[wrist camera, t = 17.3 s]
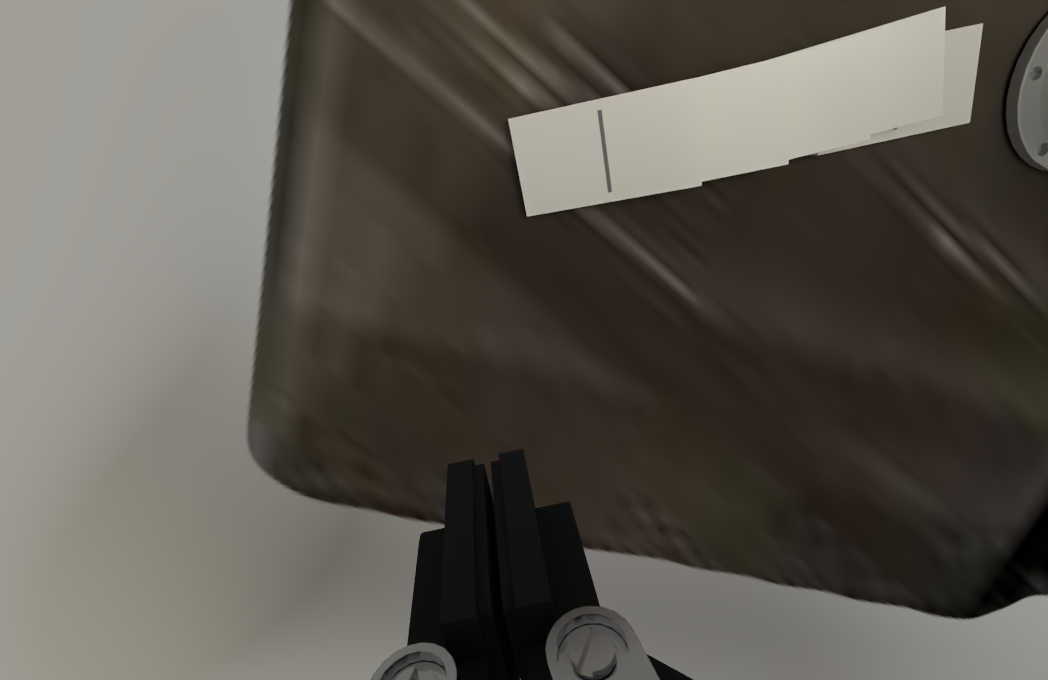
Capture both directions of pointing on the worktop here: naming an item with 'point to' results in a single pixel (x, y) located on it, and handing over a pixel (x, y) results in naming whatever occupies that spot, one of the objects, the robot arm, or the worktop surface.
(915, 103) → the domino
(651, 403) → the worktop surface
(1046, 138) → the robot arm
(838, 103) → the domino
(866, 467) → the worktop surface
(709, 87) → the domino
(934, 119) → the domino
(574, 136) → the domino
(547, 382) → the worktop surface
